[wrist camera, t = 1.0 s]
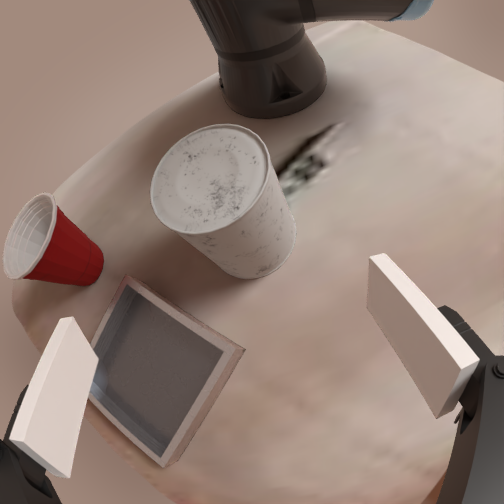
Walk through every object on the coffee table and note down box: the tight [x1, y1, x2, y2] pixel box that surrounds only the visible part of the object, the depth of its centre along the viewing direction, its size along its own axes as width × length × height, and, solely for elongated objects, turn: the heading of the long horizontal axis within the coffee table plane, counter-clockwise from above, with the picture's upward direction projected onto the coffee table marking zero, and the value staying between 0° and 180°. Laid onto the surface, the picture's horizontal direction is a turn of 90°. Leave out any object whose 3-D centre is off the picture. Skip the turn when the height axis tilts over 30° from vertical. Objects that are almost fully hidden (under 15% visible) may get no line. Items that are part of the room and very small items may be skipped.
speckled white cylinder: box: [150, 124, 297, 279], centre depth 28 cm, size 10×10×12 cm
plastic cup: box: [3, 192, 104, 286], centre depth 33 cm, size 11×11×12 cm
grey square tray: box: [88, 275, 246, 468], centre depth 30 cm, size 15×15×3 cm
